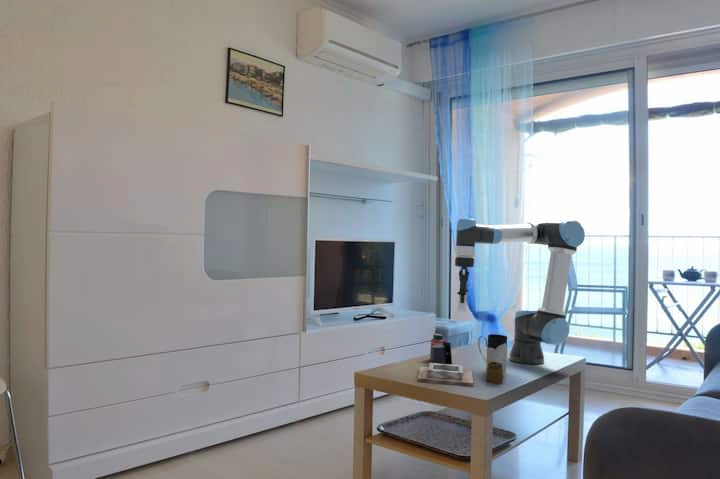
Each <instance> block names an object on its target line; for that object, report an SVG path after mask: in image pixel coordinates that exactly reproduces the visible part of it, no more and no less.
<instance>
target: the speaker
mask: <svg viewBox="0 0 720 479" xmlns="http://www.w3.org/2000/svg"><path fill="white" fill-rule="evenodd" d="M432 352H433V360H432V361H433V362H432V363H437V364H448V365H453V361H452V359H453V358H452V346H451V342H449V341H446V340H444V339H443V344H435V345H433V346H432Z"/></svg>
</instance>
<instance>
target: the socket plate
mask: <svg viewBox="0 0 720 479" xmlns="http://www.w3.org/2000/svg"><path fill="white" fill-rule="evenodd" d="M417 382H420V383H431V384H441V385H452V386H453V385H455V386H463V387H466V386H467V387H474V379H473V373H472V370H467V369H463V365H458V364H452V365H448V364H437V363H433V362H429V366H420V367H419V372H418V375H417Z"/></svg>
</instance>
